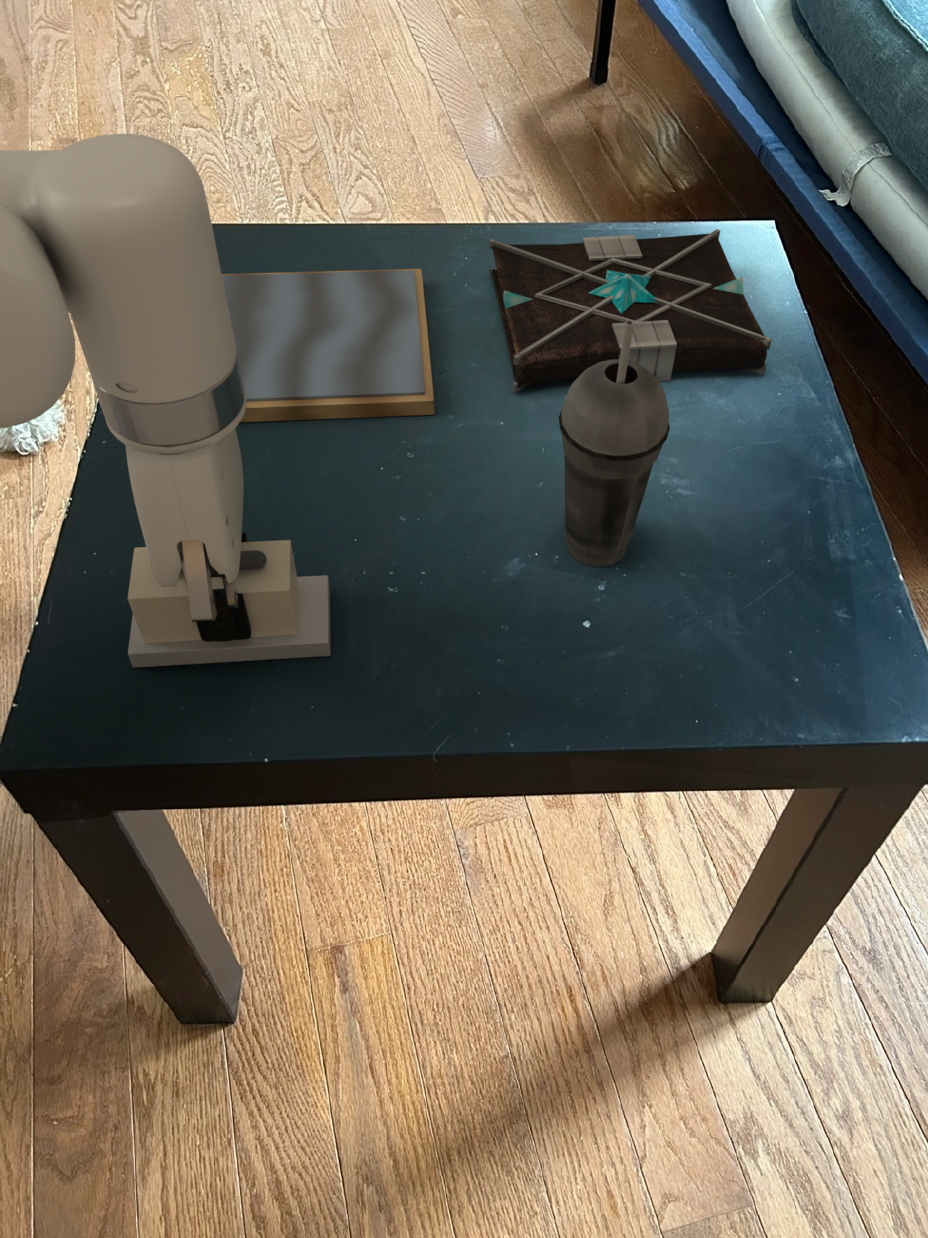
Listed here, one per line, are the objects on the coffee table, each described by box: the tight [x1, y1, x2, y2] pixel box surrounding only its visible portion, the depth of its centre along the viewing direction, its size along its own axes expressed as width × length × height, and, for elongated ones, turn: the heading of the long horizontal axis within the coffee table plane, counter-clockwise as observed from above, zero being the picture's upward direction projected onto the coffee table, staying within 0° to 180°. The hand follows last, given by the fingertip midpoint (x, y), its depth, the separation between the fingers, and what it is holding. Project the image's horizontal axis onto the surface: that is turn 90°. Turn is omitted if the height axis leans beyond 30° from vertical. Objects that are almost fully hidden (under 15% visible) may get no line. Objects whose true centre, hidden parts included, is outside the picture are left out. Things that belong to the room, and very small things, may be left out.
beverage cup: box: [558, 320, 671, 568], centre depth 73 cm, size 7×7×20 cm
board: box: [221, 268, 436, 423], centre depth 93 cm, size 20×18×2 cm
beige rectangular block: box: [127, 539, 332, 668], centre depth 72 cm, size 13×6×7 cm, turn 96°
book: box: [488, 228, 773, 394], centre depth 95 cm, size 22×17×5 cm
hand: (228, 605), depth 73 cm, fingers closed on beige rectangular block, 4 cm apart
